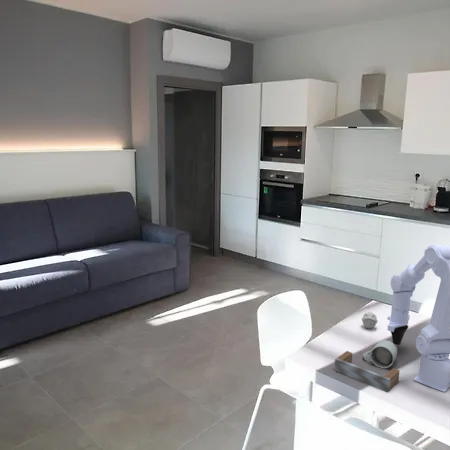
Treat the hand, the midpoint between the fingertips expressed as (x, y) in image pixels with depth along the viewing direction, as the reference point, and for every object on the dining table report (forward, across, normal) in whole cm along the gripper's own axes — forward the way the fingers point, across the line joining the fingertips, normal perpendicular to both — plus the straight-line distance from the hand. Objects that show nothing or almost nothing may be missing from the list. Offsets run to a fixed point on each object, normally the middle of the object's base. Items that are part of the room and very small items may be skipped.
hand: (396, 344), depth 158 cm
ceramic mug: (+3, +12, -1) cm, 13 cm away
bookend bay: (+3, +24, 0) cm, 24 cm away
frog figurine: (+3, -12, -16) cm, 20 cm away
